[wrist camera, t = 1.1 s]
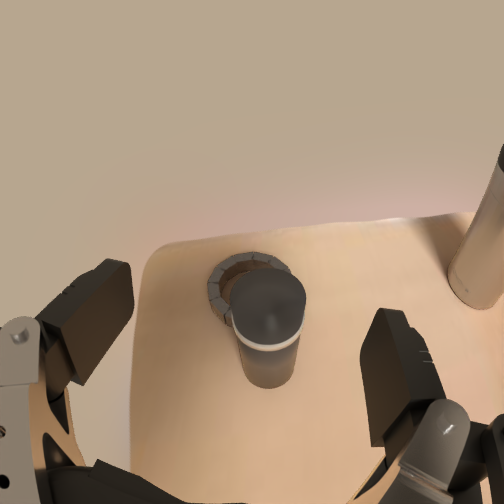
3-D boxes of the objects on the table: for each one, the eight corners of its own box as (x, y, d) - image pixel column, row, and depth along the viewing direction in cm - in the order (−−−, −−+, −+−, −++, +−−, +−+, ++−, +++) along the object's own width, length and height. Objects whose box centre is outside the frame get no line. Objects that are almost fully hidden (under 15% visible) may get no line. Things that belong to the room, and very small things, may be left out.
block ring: (281, 257, 38) (281, 246, 37) (302, 320, 32) (304, 310, 30) (207, 271, 37) (204, 260, 36) (216, 337, 31) (213, 328, 29)
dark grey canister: (287, 338, 30) (295, 261, 22) (300, 382, 27) (317, 321, 18) (238, 347, 30) (223, 273, 21) (247, 394, 26) (234, 338, 18)
